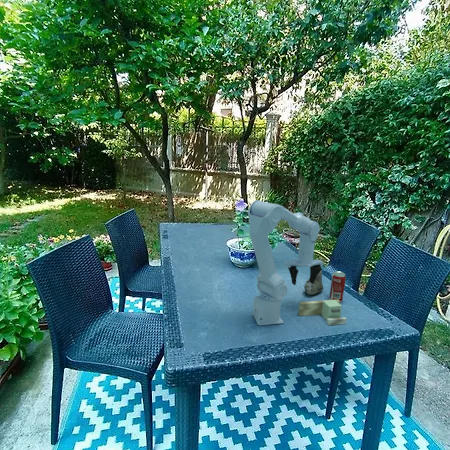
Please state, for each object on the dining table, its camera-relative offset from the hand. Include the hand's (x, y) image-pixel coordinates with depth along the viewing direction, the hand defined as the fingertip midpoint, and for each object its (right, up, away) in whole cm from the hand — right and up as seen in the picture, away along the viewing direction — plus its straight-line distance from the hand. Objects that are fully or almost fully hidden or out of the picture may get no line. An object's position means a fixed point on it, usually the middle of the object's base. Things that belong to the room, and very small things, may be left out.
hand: (302, 283), depth 116 cm
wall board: (+6, -12, -7) cm, 15 cm away
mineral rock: (+8, -7, +15) cm, 18 cm away
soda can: (+16, -9, +8) cm, 20 cm away
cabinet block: (+9, -12, -6) cm, 16 cm away
